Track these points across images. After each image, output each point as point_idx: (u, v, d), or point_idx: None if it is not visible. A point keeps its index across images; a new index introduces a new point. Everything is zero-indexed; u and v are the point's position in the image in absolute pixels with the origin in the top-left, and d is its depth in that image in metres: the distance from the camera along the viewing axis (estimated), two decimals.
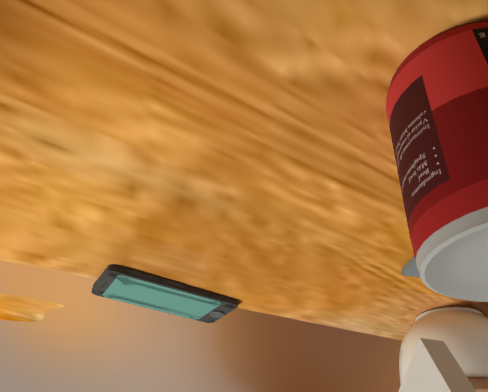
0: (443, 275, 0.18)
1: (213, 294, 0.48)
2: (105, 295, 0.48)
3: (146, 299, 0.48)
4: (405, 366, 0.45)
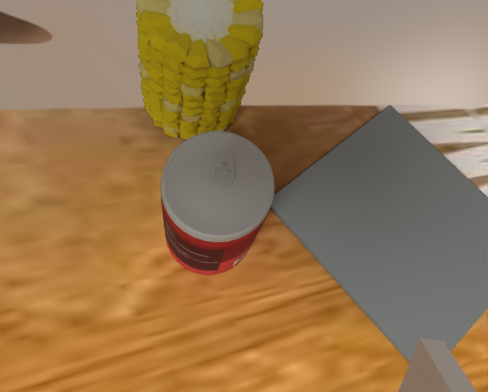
0: (211, 225, 0.28)
1: None
2: None
3: None
4: None
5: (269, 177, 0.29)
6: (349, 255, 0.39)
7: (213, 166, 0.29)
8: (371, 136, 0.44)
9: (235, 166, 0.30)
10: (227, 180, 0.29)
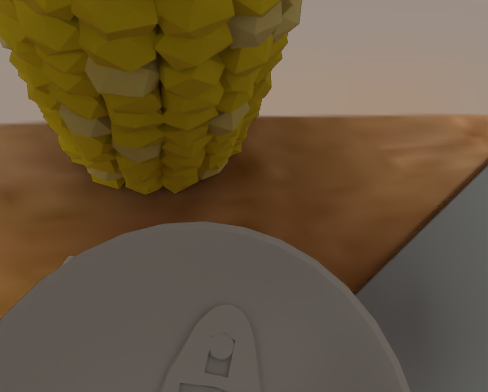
0: None
1: None
2: None
3: None
4: None
5: None
6: None
7: (171, 376, 0.07)
8: None
9: (259, 372, 0.07)
10: None
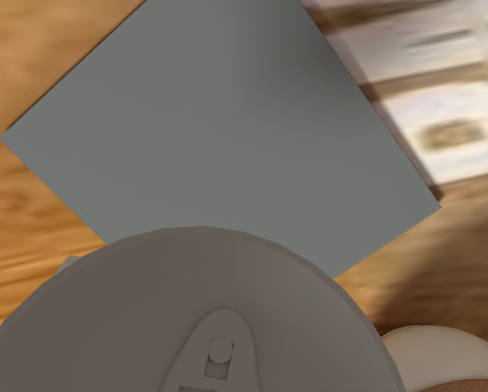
0: None
1: None
2: None
3: None
4: None
5: None
6: (131, 220, 0.27)
7: (171, 380, 0.07)
8: (187, 2, 0.23)
9: (258, 375, 0.07)
10: None
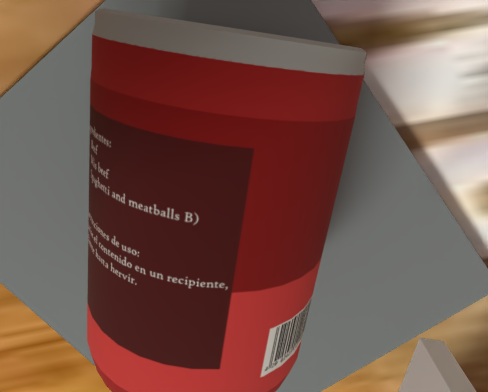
0: None
1: None
2: None
3: None
4: None
5: None
6: (85, 299, 0.20)
7: None
8: (157, 10, 0.16)
9: None
10: None
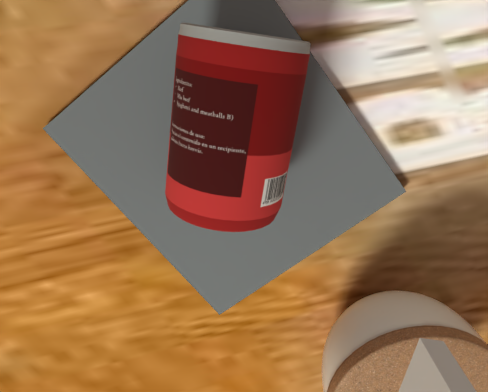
0: None
1: None
2: None
3: None
4: None
5: None
6: (149, 198, 0.33)
7: None
8: (199, 21, 0.28)
9: None
10: None
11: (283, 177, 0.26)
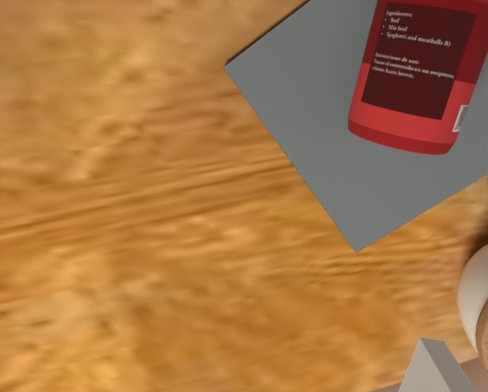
0: None
1: None
2: None
3: None
4: None
5: None
6: (309, 137, 0.36)
7: None
8: None
9: None
10: None
11: (467, 108, 0.29)
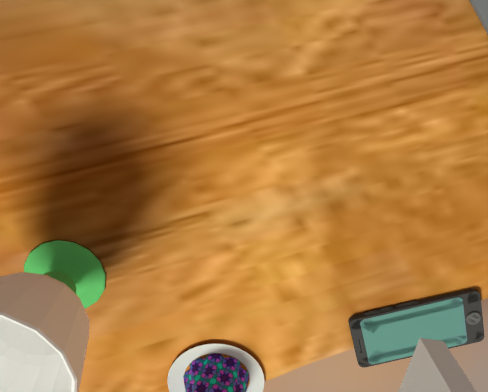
0: None
1: (448, 295, 0.50)
2: (371, 361, 0.52)
3: (403, 342, 0.51)
4: None
5: None
6: None
7: None
8: None
9: None
10: None
11: None
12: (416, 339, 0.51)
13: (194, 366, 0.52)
